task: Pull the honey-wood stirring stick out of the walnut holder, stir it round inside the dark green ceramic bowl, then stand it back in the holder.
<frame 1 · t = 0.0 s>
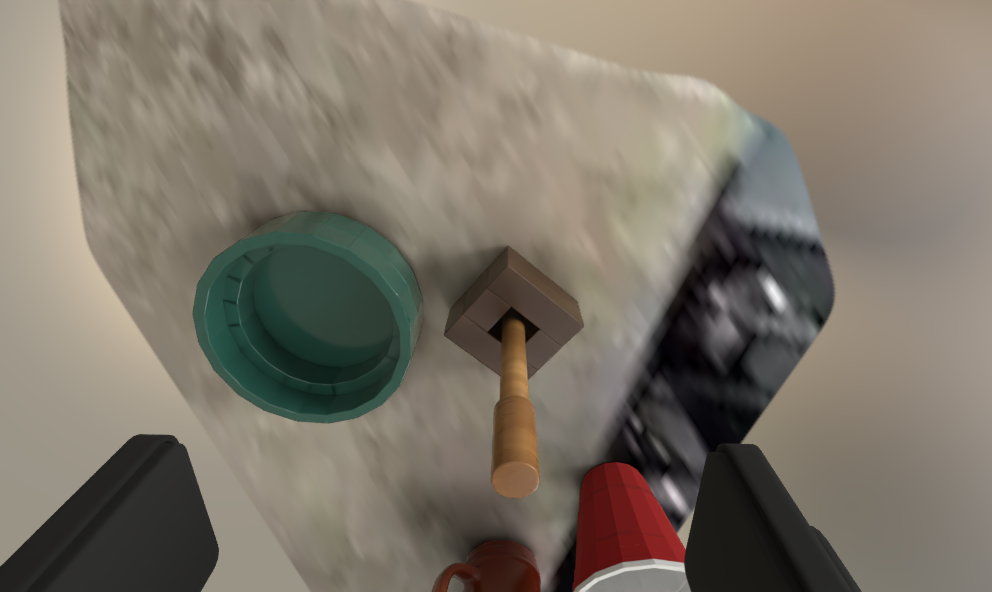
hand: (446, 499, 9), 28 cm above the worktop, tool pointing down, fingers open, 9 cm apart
holder: (513, 305, 39), on the worktop
stick: (513, 370, 31), in the holder
mug: (490, 549, 51), on the worktop
bowl: (329, 301, 39), on the worktop
plastic cup: (612, 485, 47), on the worktop
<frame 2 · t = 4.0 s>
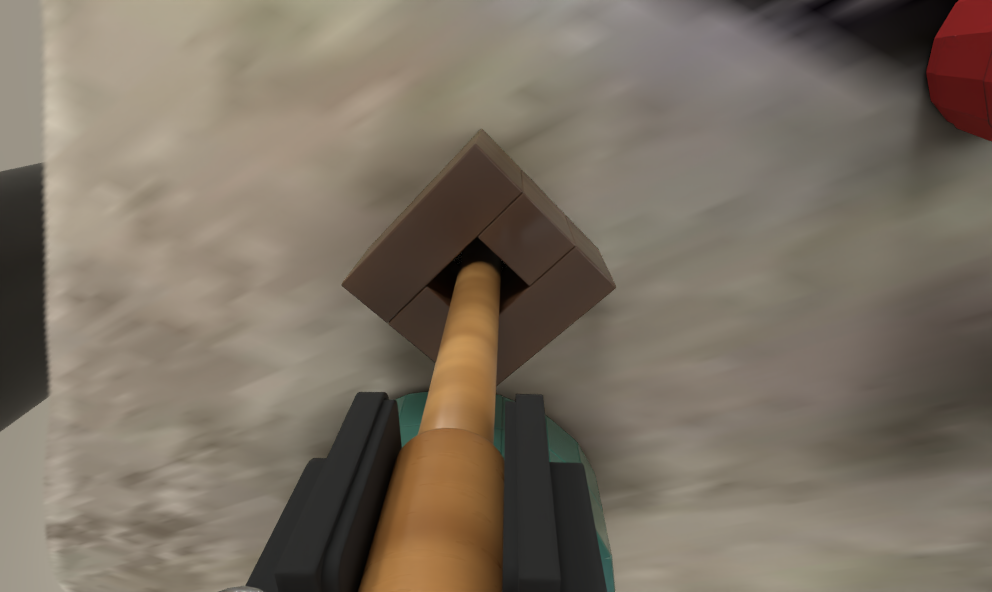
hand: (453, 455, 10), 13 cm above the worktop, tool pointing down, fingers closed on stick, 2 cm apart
holder: (483, 249, 22), on the worktop
stick: (467, 361, 14), in the holder, touching gripper
bowl: (460, 494, 28), on the worktop
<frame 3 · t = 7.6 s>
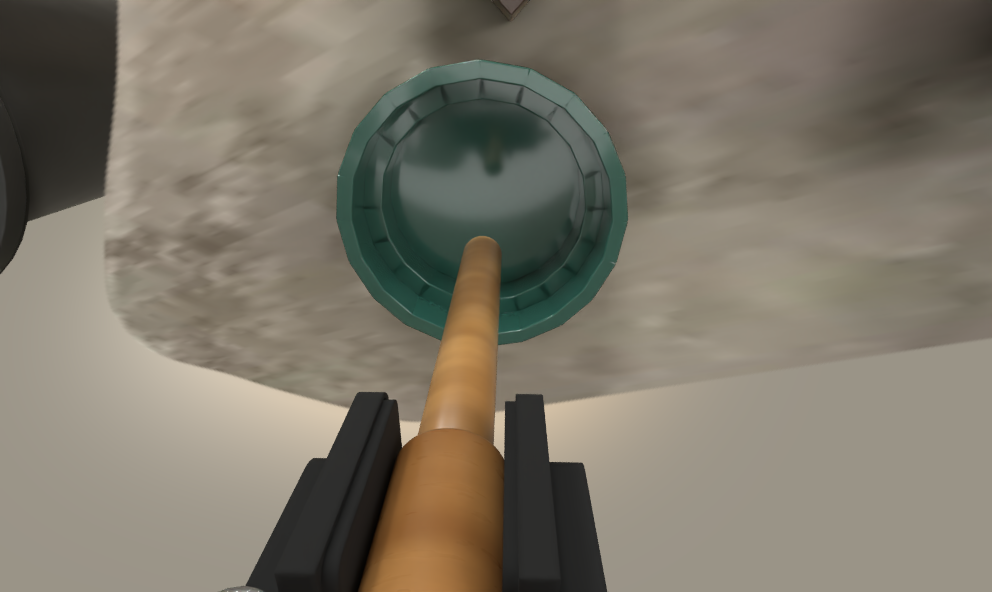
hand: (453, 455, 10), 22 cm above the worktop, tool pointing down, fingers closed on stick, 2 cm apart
stick: (467, 361, 14), point 19 cm above the worktop, touching gripper
bowl: (485, 194, 31), on the worktop
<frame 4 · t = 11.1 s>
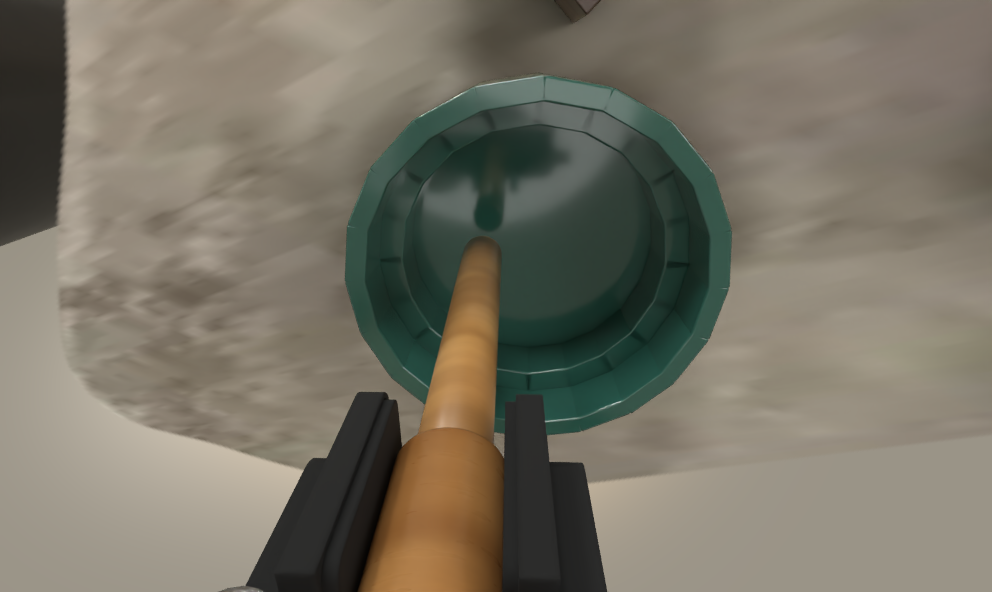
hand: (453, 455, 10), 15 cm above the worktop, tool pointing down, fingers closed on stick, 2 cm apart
stick: (467, 360, 14), point 12 cm above the worktop, touching gripper
bowl: (530, 239, 24), on the worktop
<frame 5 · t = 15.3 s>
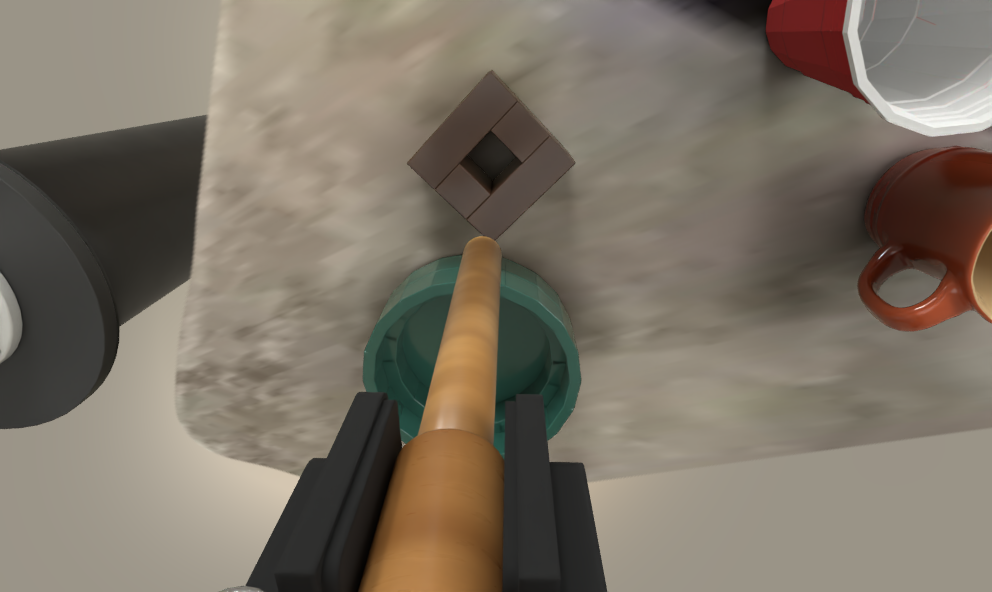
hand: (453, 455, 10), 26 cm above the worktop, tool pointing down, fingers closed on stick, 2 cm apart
holder: (492, 152, 33), on the worktop
stick: (467, 361, 14), point 22 cm above the worktop, touching gripper
mug: (887, 214, 34), on the worktop
bowl: (476, 340, 39), on the worktop
plastic cup: (817, 14, 30), on the worktop
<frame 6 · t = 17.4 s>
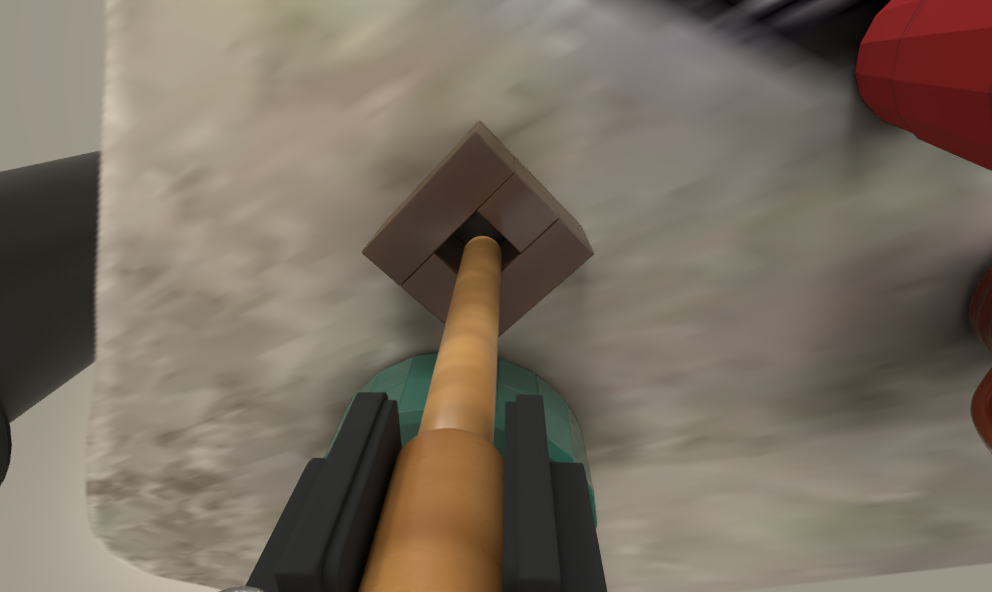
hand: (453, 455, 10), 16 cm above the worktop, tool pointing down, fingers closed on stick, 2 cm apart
holder: (481, 225, 25), on the worktop
stick: (467, 361, 14), point 13 cm above the worktop, touching gripper
bowl: (461, 449, 31), on the worktop
plastic cup: (926, 50, 22), on the worktop
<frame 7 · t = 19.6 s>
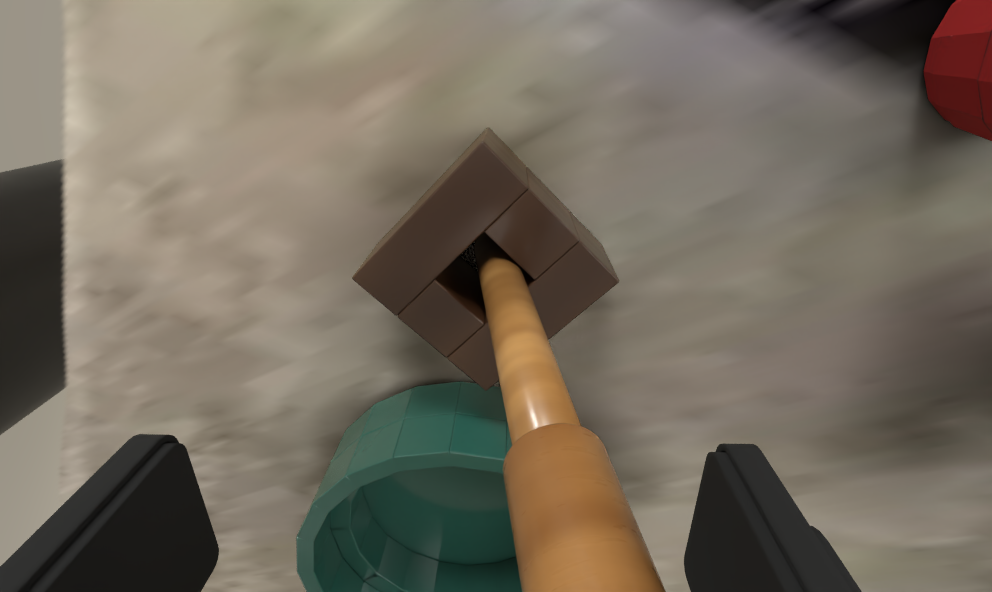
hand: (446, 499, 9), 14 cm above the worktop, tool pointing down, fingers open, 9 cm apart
holder: (489, 244, 22), on the worktop
stick: (523, 356, 14), in the holder, tilted 8°
bowl: (465, 485, 28), on the worktop
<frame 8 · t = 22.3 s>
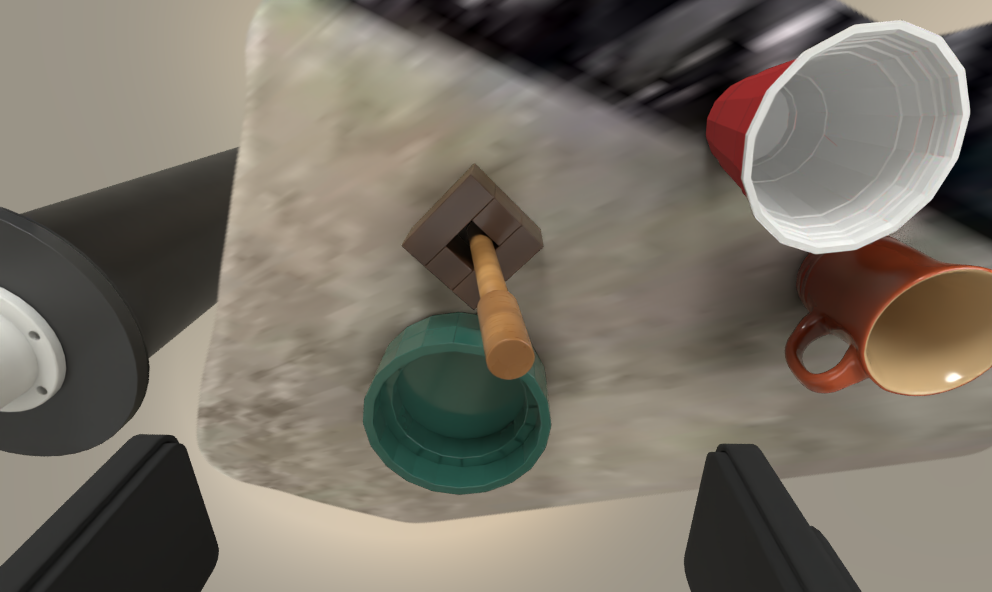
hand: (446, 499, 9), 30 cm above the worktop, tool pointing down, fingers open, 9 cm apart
holder: (475, 229, 39), on the worktop
stick: (489, 276, 31), in the holder, tilted 8°
mug: (817, 282, 40), on the worktop
bowl: (462, 384, 44), on the worktop
plastic cup: (749, 121, 35), on the worktop
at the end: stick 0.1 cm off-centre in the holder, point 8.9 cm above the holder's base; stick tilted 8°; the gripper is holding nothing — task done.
